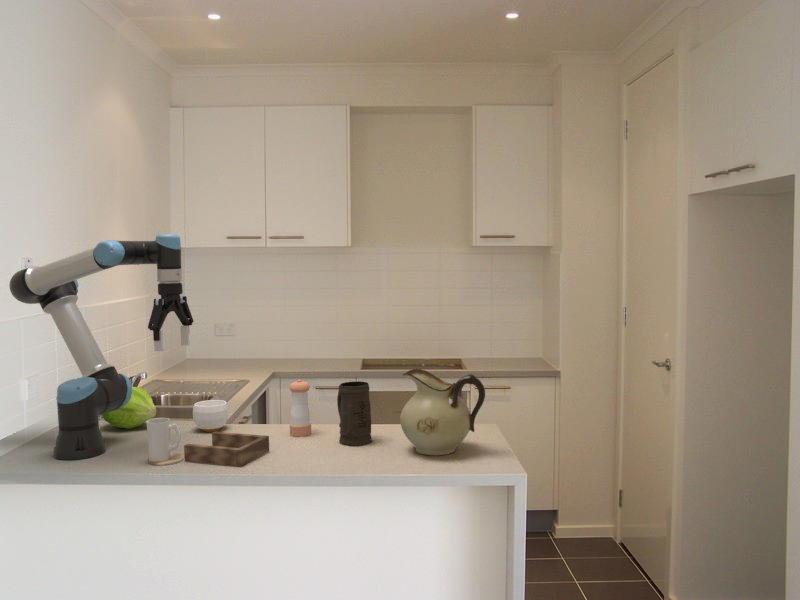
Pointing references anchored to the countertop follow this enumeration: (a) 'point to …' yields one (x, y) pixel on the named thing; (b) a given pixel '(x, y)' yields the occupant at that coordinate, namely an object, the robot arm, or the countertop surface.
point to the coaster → (169, 460)
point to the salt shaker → (300, 409)
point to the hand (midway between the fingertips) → (172, 348)
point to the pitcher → (438, 413)
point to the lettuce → (132, 411)
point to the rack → (228, 449)
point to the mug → (160, 439)
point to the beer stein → (354, 413)
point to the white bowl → (210, 414)
